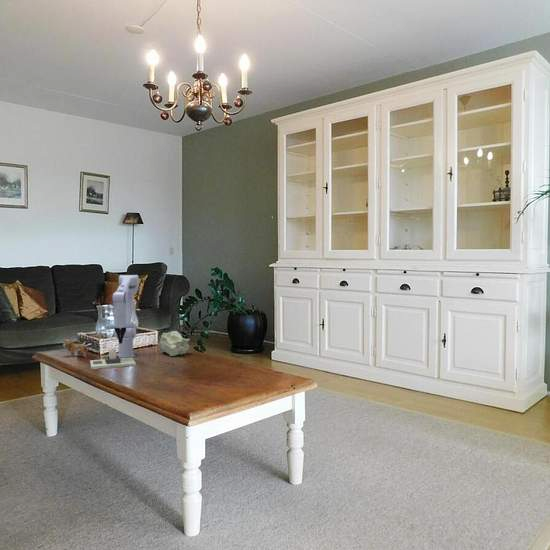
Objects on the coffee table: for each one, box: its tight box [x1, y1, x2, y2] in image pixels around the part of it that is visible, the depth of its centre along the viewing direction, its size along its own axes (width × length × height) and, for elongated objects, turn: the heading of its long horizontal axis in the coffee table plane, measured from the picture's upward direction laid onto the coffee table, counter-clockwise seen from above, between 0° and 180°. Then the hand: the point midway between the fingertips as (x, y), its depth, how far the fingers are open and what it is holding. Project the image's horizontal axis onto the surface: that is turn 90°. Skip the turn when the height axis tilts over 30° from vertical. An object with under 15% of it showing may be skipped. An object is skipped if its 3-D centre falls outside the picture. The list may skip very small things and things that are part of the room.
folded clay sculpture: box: [158, 330, 191, 357], centre depth 262 cm, size 18×13×16 cm
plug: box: [108, 348, 117, 359], centre depth 237 cm, size 5×3×6 cm, turn 23°
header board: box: [89, 355, 137, 370], centre depth 237 cm, size 15×20×3 cm
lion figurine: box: [62, 339, 92, 358], centre depth 255 cm, size 15×5×9 cm, turn 90°
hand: (120, 343), depth 242 cm, fingers closed
